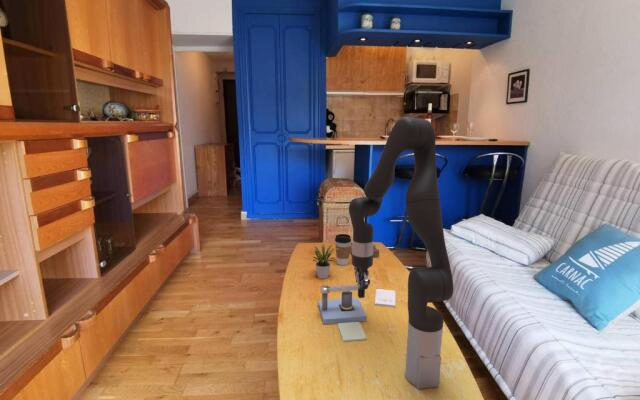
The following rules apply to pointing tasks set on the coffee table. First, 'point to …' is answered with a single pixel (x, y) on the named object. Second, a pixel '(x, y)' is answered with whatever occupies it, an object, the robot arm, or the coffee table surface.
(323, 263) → the house plant
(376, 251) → the coaster tray
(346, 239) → the coffee cup
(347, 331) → the pad
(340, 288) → the clip
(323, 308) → the plate
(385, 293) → the external hard drive
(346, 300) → the plug
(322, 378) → the coffee table surface
